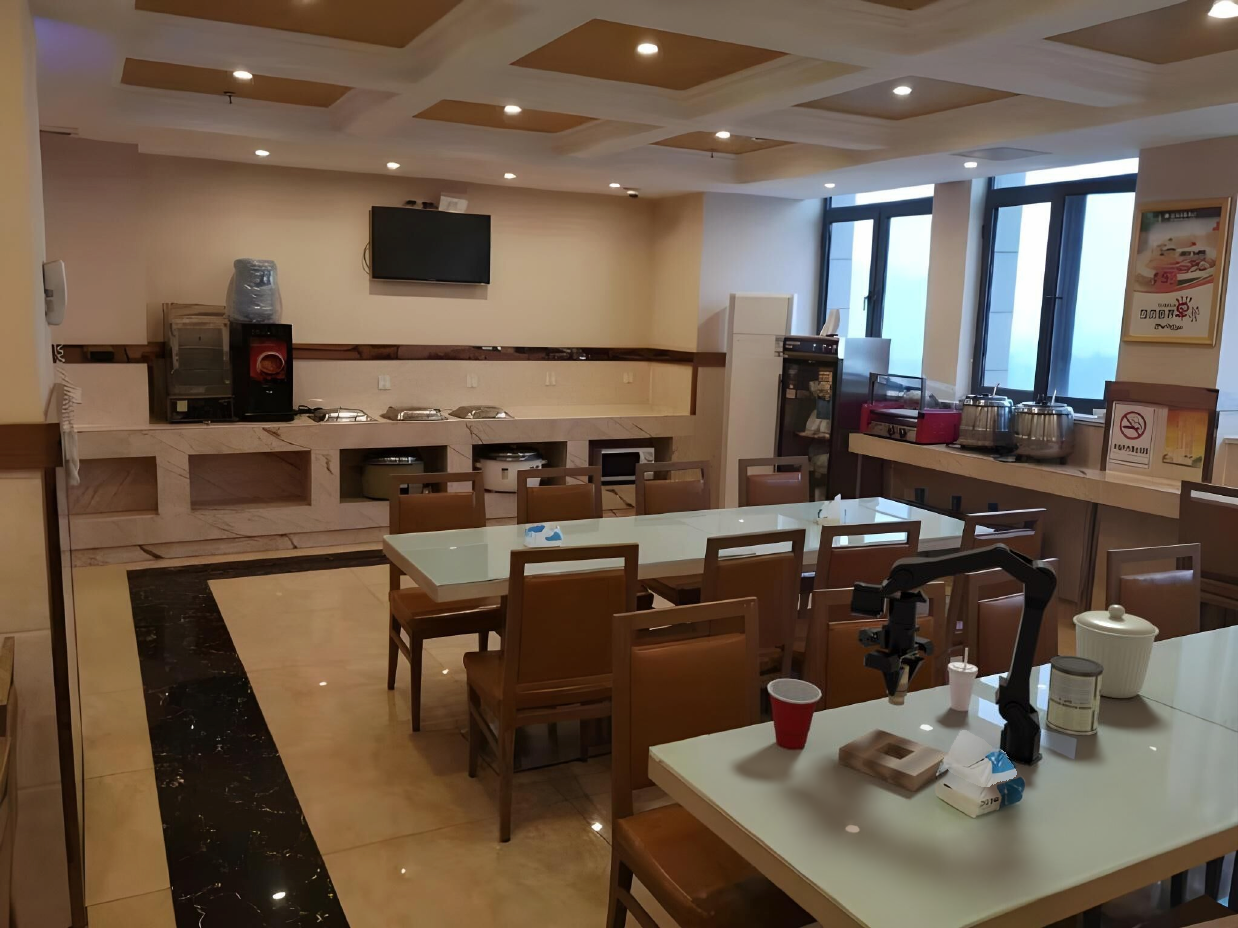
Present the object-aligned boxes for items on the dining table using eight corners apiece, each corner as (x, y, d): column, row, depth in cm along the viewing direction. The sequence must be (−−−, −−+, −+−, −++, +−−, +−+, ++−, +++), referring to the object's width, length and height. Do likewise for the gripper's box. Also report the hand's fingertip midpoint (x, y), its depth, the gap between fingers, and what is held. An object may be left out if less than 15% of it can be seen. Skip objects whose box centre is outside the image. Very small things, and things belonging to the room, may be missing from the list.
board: (949, 768, 186) (950, 753, 185) (913, 791, 176) (914, 775, 176) (875, 742, 197) (876, 728, 197) (838, 762, 187) (839, 747, 187)
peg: (910, 702, 200) (913, 665, 199) (900, 708, 197) (902, 670, 196) (892, 697, 203) (894, 660, 202) (881, 702, 200) (884, 665, 199)
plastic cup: (787, 760, 188) (790, 701, 186) (753, 739, 197) (756, 683, 195) (830, 749, 193) (833, 692, 191) (795, 729, 202) (797, 675, 201)
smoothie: (978, 714, 213) (983, 653, 211) (949, 713, 214) (954, 652, 212) (969, 702, 220) (973, 643, 218) (940, 702, 220) (945, 643, 218)
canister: (1073, 699, 224) (1081, 611, 221) (1062, 673, 241) (1069, 591, 238) (1160, 709, 219) (1169, 620, 216) (1142, 682, 236) (1150, 599, 233)
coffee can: (1038, 715, 214) (1043, 654, 212) (1086, 717, 213) (1092, 656, 211) (1054, 733, 204) (1060, 670, 202) (1105, 737, 203) (1111, 672, 201)
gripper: (889, 603, 209) (885, 672, 212) (843, 619, 196) (838, 692, 199) (937, 615, 202) (932, 686, 204) (892, 632, 189) (887, 708, 191)
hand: (896, 692), depth 199 cm, fingers closed on peg, 4 cm apart
